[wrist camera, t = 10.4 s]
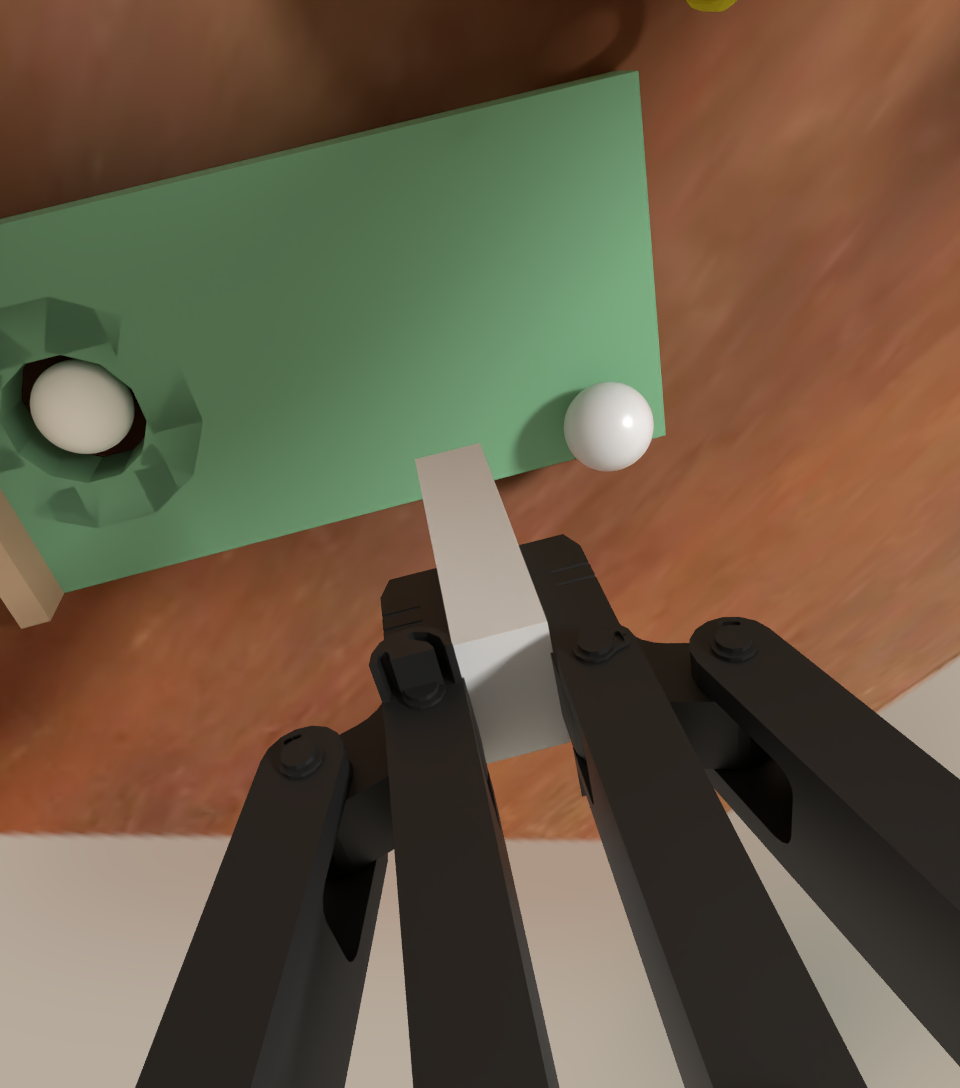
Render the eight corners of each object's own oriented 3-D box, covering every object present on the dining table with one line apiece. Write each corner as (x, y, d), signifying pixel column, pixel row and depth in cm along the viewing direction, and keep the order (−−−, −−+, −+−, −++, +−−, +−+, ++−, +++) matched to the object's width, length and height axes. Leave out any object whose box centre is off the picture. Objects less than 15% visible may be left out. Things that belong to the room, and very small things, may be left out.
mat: (-139, 252, 28) (-212, 280, 24) (615, 70, 29) (659, 70, 25) (53, 569, 35) (21, 628, 31) (645, 414, 36) (683, 453, 33)
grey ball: (548, 381, 32) (572, 413, 29) (631, 360, 32) (664, 389, 29) (560, 458, 34) (583, 496, 31) (639, 437, 34) (670, 473, 31)
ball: (124, 339, 31) (78, 385, 32) (39, 342, 28) (-6, 393, 29) (169, 419, 31) (121, 461, 33) (89, 432, 28) (41, 477, 29)
